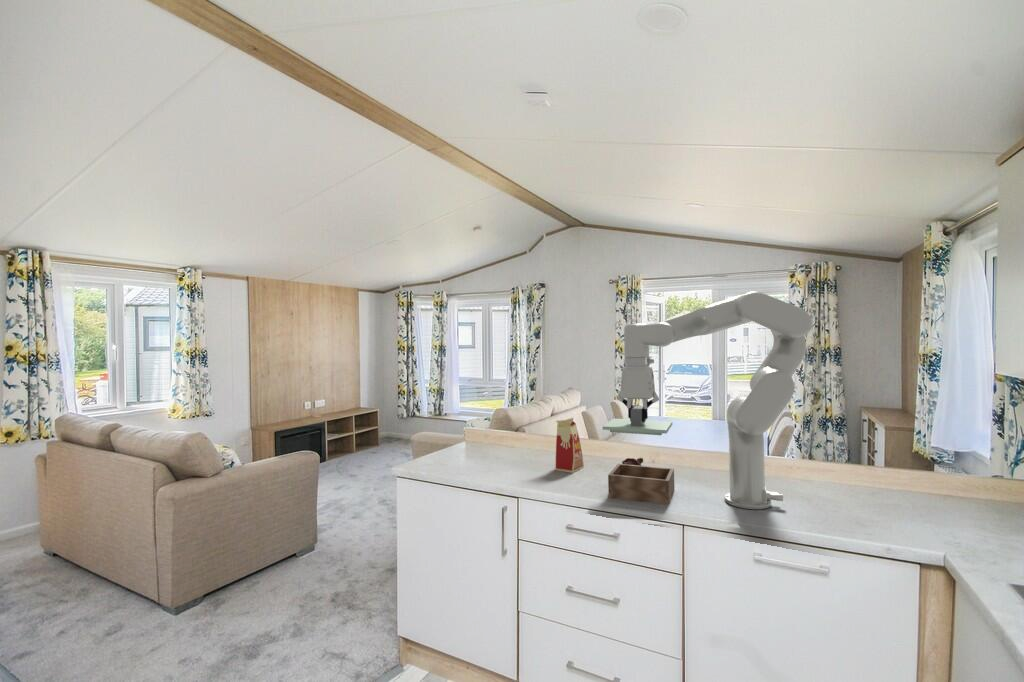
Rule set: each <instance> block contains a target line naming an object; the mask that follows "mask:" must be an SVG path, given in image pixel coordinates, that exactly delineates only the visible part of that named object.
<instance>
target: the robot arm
mask: <svg viewBox="0 0 1024 682" xmlns="http://www.w3.org/2000/svg"><path fill="white" fill-rule="evenodd" d="M751 322H753V323H755V324H757V325H760V326H762V327H765V328H767V329H769V330H770V332H771V333H772V336H773V345H772V348H771V349H770V351H769V353H768V354H767V356H766V357H765V358H764V360H763V361H762V362H761V364H760V366H759V367H758V368H757V370H755V372H754V373H753V374H752V376H751V377H750V381H749V387H750V390H751V391H750V392H749V394H748V395H747V396H741V397H740V396H739V397H736V398H734V399H733V400H731V402H730V403H729V404H728V407H727V410H726V421H727V431H728V432H727V433H728V460H729V461H728V463H729V465H728V466H729V468H728V469H729V492H728V493H726V494H725V495H724V502H726V503H727V504H729V505H731V506H734V507H737V508H739V509H740V508H742V509H747V510H763V509H768V508H770V507H771V506H772V501H777V502H784V495H783V494H782V493H781V494H779V493H778V492H777V491H769V490H767V486H766V477H765V476H766V475H765V474H766V473H765V438H764V437H765V436H764V433H766V432H767V431H769V429H770V428H771V427H772V426H773V425H774V423H775V422H776V421H777V419H778V418H779V416H781V414H782V412H783V411H784V410H785V409H786V407H787V406H788V404H789V403H790V401H791V399H792V398H793V395H794V392H795V382H794V379H793V378H792V377H793V375H794V374H795V373H796V371H797V370H798V368H799V366H800V365H801V363H802V361H803V359H804V357H805V355H806V351H807V342H806V335H807V334H809V332H810V330H811V329H812V326H813V319H812V317H811V315H810V314H809V313H808V312H807V311H806V310H805V309H804V308H801V307H799V306H796V305H794V304H791V303H789V302H786V301H783V300H781V299H778V298H777V297H773V296H771V295H768V294H766V293H763V292H759V291H749V292H747V293H744V294H741V295H736V296H733V297H730V298H728V299H724V300H720V301H718V302H714V303H711V304H709V305H705V306H701V307H699V308H697V309H695V310H693V311H691V312H688V313H686V314H683V315H679V316H677V317H674V318H671V319H668V320H664V321H660V322H656V323H647V324H646V323H629V324H626V325H625V326H624V329H623V331H624V332H623V336H624V337H623V340H624V341H623V342H624V344H623V345H624V366H622V369H621V377H620V378H621V379H620V390H619V392H618V394H617V396H616V400H617V401H619V402H621V403H623V405H624V406H626V409H627V411H628V414H627V416H628V417H627V418H628V419H630V421H631V409H632V408H634V405H633V402H634V400H642V406H643V409H642V421H643V422H645V421H646V420H648V418H649V417H648V415H649V413H648V409H649V407H650V406H651V405H653V404H654V403H657V402H659V400H660V397H659V395H658V394H657V392H656V389H655V386H656V385H655V376H654V371H653V367H652V366H651V365H652V364H655V359H653V358H651V357H650V347H651V346H654V347H661V348H663V347H667V346H669V345H670V344H672V343H676V342H678V341H682V340H686V339H689V338H693V337H697V336H707V335H710V334H714V333H718V332H721V331H724V330H728V329H731V328H734V327H738V326H741V325H744V324H748V323H751Z"/></svg>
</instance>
